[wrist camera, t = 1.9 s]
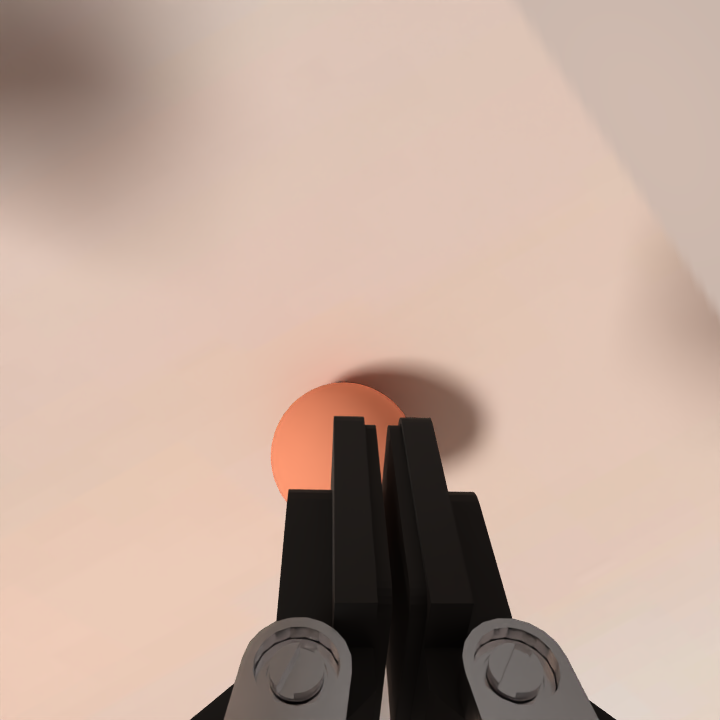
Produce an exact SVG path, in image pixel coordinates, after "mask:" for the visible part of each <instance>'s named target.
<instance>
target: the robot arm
mask: <svg viewBox="0 0 720 720" xmlns="http://www.w3.org/2000/svg"><path fill="white" fill-rule="evenodd" d="M385 669H386V672H387V685H388V697H389V710H390V720H616V719H614V718H613V717H612V716H610V715H609V714H608V713H606V712H605V711H603V710H602V709H601V708H599V707H598V706H596V705H595V704H594V703H592V702H591V701H590V700H589V699H588V697H587V695H586V694H585V692H584V690H583V688H582V686H581V684H580V682H579V680H578V678H577V676H576V674H575V672H574V670H573V668H572V666H571V664H570V662H569V660H568V658H567V656H566V655H565V654H564V652H563V651H562V649H561V648H560V646H559V645H558V643H557V642H556V641H554V640H553V639H552V638H551V637H550V636H549V635H548V634H547V633H545V632H544V631H543V630H541V629H539V628H537V627H535V626H533V625H532V624H530V623H527V622H523V621H520V620H516V619H512V616H511V612H510V609H509V605H508V602H507V598H506V595H505V591H504V588H503V584H502V581H501V577H500V574H499V570H498V567H497V563H496V560H495V556H494V553H493V549H492V546H491V542H490V539H489V535H488V532H487V528H486V525H485V521H484V518H483V514H482V511H481V507H480V504H479V501H478V498H477V496H476V494H475V493H474V492H448V489H447V485H446V481H445V476H444V472H443V467H442V463H441V459H440V454H439V450H438V446H437V441H436V437H435V433H434V428H433V424H432V421H431V419H430V418H405V417H400V419H399V422H398V425H388V427H387V435H386V446H385V457H384V468H383V478H382V481H381V471H380V461H379V451H378V441H377V431H376V425H365V421H364V417H362V416H334V420H333V443H332V468H331V490H315V489H289V490H288V498H287V509H286V520H285V531H284V542H283V554H282V565H281V576H280V587H279V598H278V609H277V621H276V622H274V623H272V624H270V625H269V626H267V627H265V628H264V629H262V630H261V631H260V632H259V633H258V634H257V635H256V636H255V637H254V638H253V639H252V640H251V641H250V642H249V644H248V646H247V649H246V651H245V653H244V655H243V657H242V660H241V664H240V667H239V670H238V674H237V677H236V680H235V683H234V684H233V685H232V686H231V687H229V688H228V689H227V690H226V691H225V692H223V693H222V694H221V695H220V696H219V697H217V698H216V699H215V700H214V701H212V702H211V703H210V704H209V705H208V706H206V707H205V708H204V709H203V710H201V711H200V712H199V713H198V714H197V715H195V716H194V717H193V718H192V719H191V720H380V711H381V703H382V694H383V686H384V677H385Z"/></svg>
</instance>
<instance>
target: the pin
mask: <svg viewBox="0 0 720 720" xmlns="http://www.w3.org/2000/svg"><path fill="white" fill-rule="evenodd" d="M380 720H390V710H389V697H388V685H387V672H386V669H385V677H384V686H383V694H382V703H381V711H380Z"/></svg>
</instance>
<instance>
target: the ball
mask: <svg viewBox="0 0 720 720" xmlns="http://www.w3.org/2000/svg"><path fill="white" fill-rule="evenodd" d="M334 416H362V417H364V421H365V425H376V431H377V441H378V451H379V461H380V471H381V481H382V478H383V468H384V457H385V446H386V435H387V427H388V425H398V422H399V419H400V417H405V415H404V414H403V413H402V411H401V410H400V409H399V408H398V407H397V406H396V404H395V403H394V402H393V401H392V400H390V399H389V398H388V397H387V396H385V395H384V394H382V393H380V392H379V391H377V390H375V389H373V388H370V387H368V386H364V385H361V384H356V383H332V384H327V385H323V386H320V387H318V388H315V389H313V390H311V391H309V392H307V393H306V394H304V395H303V396H301V397H300V398H299V399H297V400H296V401H295V402H294V403H293V404H292V405H291V406H290V407H289V409H288V410H287V411H286V412H285V414H284V415H283V417H282V418H281V420H280V422H279V424H278V426H277V428H276V431H275V434H274V438H273V442H272V448H271V465H272V471H273V475H274V479H275V482H276V484H277V486H278V489H279V491H280V493H281V494H282V496H283V497H284V499H285V500H286V502H287V498H288V490H289V489H315V490H331V468H332V443H333V420H334ZM405 418H406V417H405Z"/></svg>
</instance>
